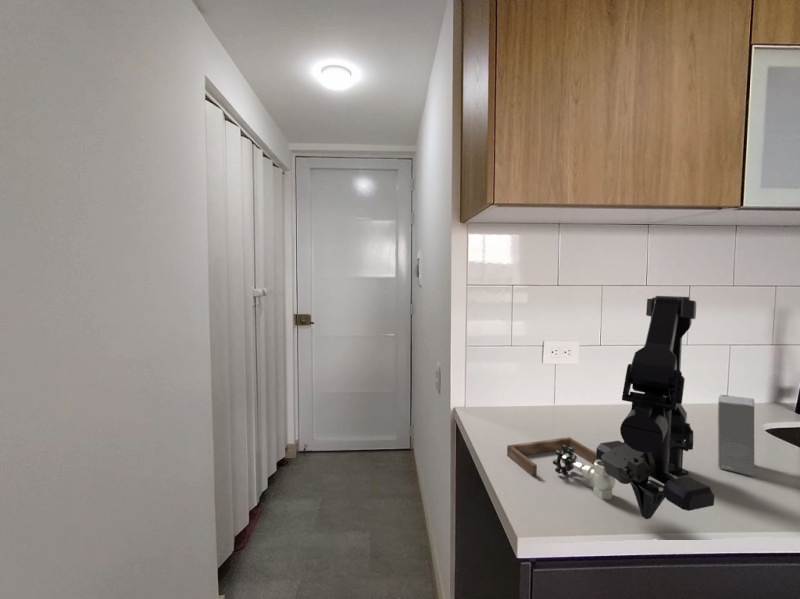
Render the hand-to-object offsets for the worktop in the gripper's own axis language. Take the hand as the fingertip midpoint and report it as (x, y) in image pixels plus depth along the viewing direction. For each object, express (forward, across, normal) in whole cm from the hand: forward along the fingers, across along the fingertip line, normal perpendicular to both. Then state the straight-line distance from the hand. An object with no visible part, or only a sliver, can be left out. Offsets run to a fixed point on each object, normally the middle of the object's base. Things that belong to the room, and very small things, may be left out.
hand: (646, 517), depth 70 cm
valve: (+2, -14, 0) cm, 14 cm away
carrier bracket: (+2, -25, 0) cm, 25 cm away
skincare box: (+2, -12, +39) cm, 41 cm away
